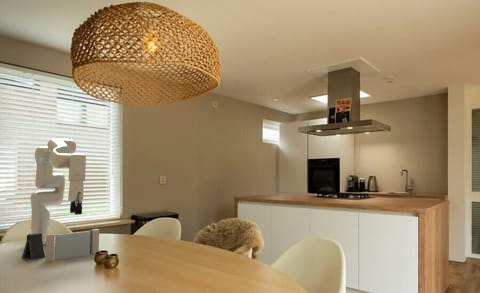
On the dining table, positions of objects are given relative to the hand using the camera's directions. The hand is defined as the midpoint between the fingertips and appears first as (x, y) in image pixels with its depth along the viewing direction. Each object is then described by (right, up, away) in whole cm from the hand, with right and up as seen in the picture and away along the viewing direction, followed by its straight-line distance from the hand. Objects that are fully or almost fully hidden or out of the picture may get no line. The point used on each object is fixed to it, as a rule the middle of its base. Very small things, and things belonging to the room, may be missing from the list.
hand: (75, 213), depth 164 cm
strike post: (-11, -22, -3) cm, 25 cm away
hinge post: (+5, -23, +10) cm, 26 cm away
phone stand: (-22, -23, +2) cm, 32 cm away
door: (-3, -23, +4) cm, 23 cm away
